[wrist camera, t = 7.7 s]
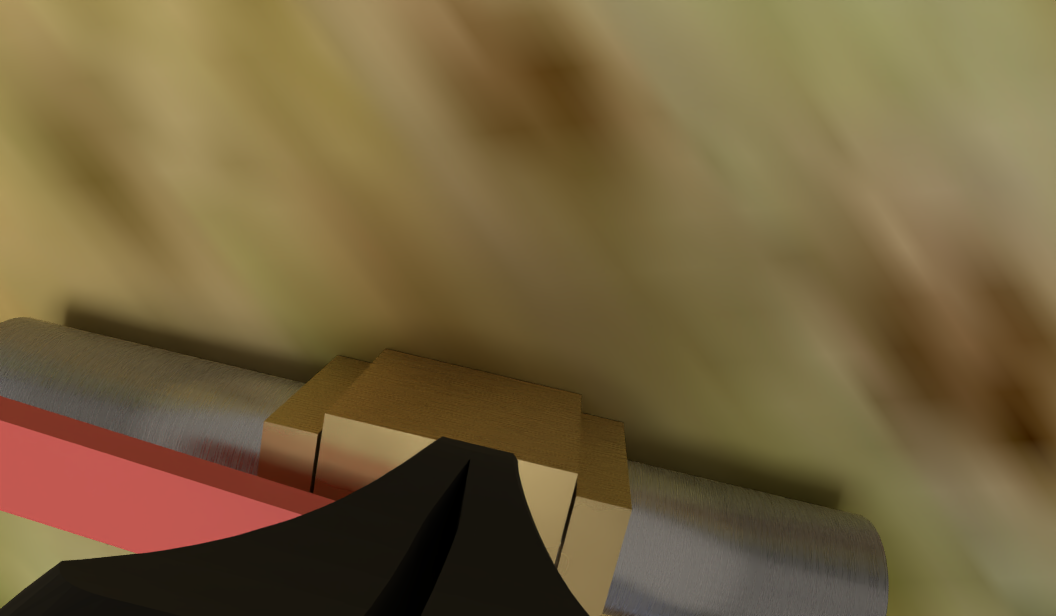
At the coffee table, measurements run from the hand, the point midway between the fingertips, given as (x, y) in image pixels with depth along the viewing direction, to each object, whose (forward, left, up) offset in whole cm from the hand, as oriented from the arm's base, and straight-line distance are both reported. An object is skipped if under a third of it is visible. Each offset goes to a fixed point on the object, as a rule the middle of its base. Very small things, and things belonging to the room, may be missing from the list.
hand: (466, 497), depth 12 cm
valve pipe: (-5, +1, -10) cm, 12 cm away
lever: (-5, +6, -5) cm, 9 cm away
